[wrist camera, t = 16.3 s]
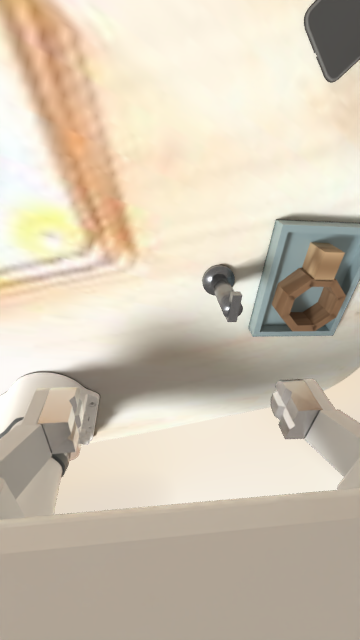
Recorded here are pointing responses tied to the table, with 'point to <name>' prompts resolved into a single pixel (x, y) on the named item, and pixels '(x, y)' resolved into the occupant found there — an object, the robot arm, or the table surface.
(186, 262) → the table surface
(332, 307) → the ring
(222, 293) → the stake
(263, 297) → the tray
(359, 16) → the smartphone
